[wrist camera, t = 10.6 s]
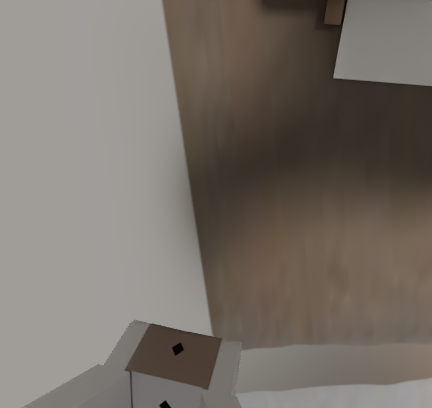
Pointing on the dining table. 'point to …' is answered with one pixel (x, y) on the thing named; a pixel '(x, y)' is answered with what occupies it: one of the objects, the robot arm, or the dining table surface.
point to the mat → (386, 42)
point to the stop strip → (334, 12)
